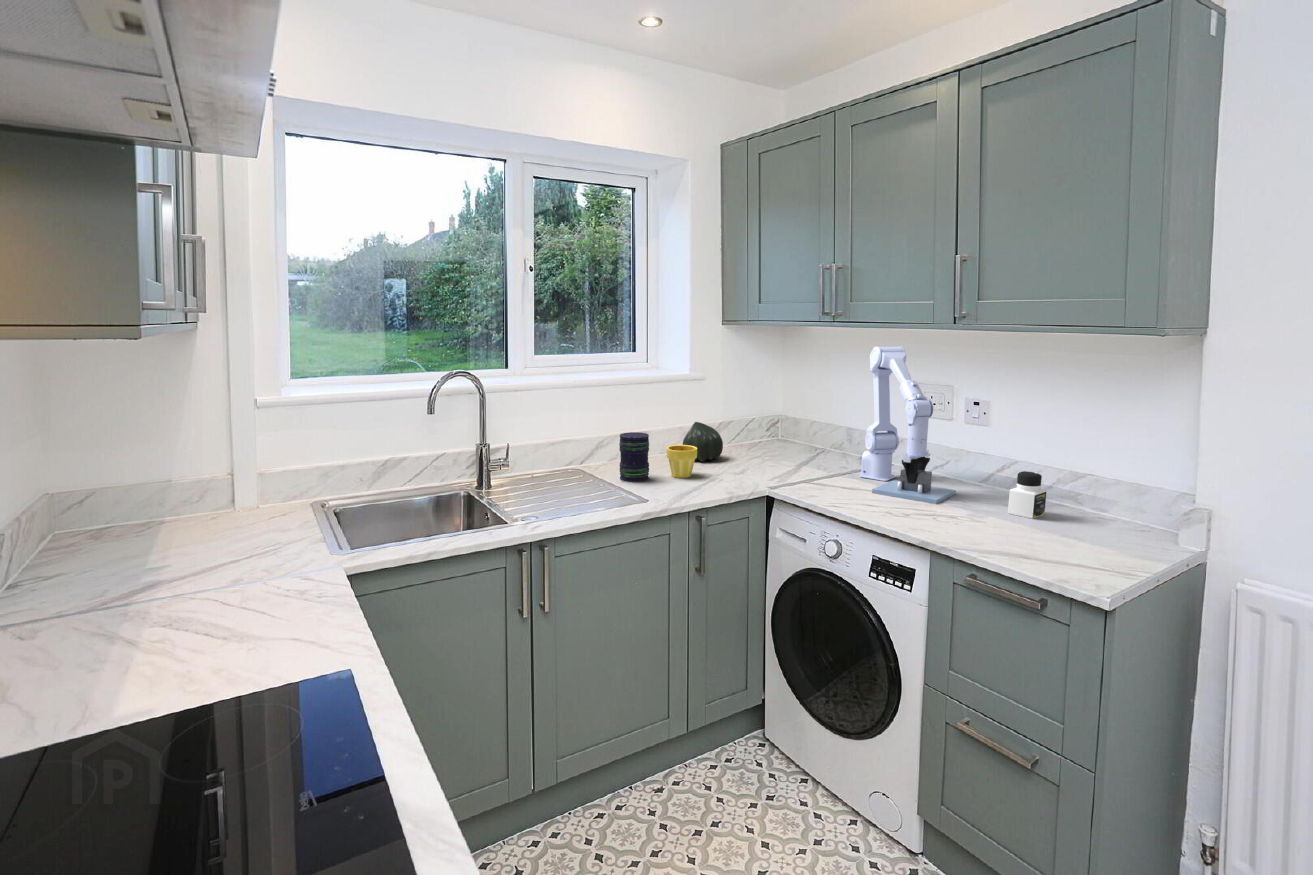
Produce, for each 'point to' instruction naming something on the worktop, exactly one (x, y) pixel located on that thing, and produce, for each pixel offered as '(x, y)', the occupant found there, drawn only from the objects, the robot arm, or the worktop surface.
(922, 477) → the grey notched block
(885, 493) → the tray
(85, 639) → the worktop surface
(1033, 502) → the medicine bottle
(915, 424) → the robot arm
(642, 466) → the storage jar
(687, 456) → the plant pot
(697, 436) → the squash
